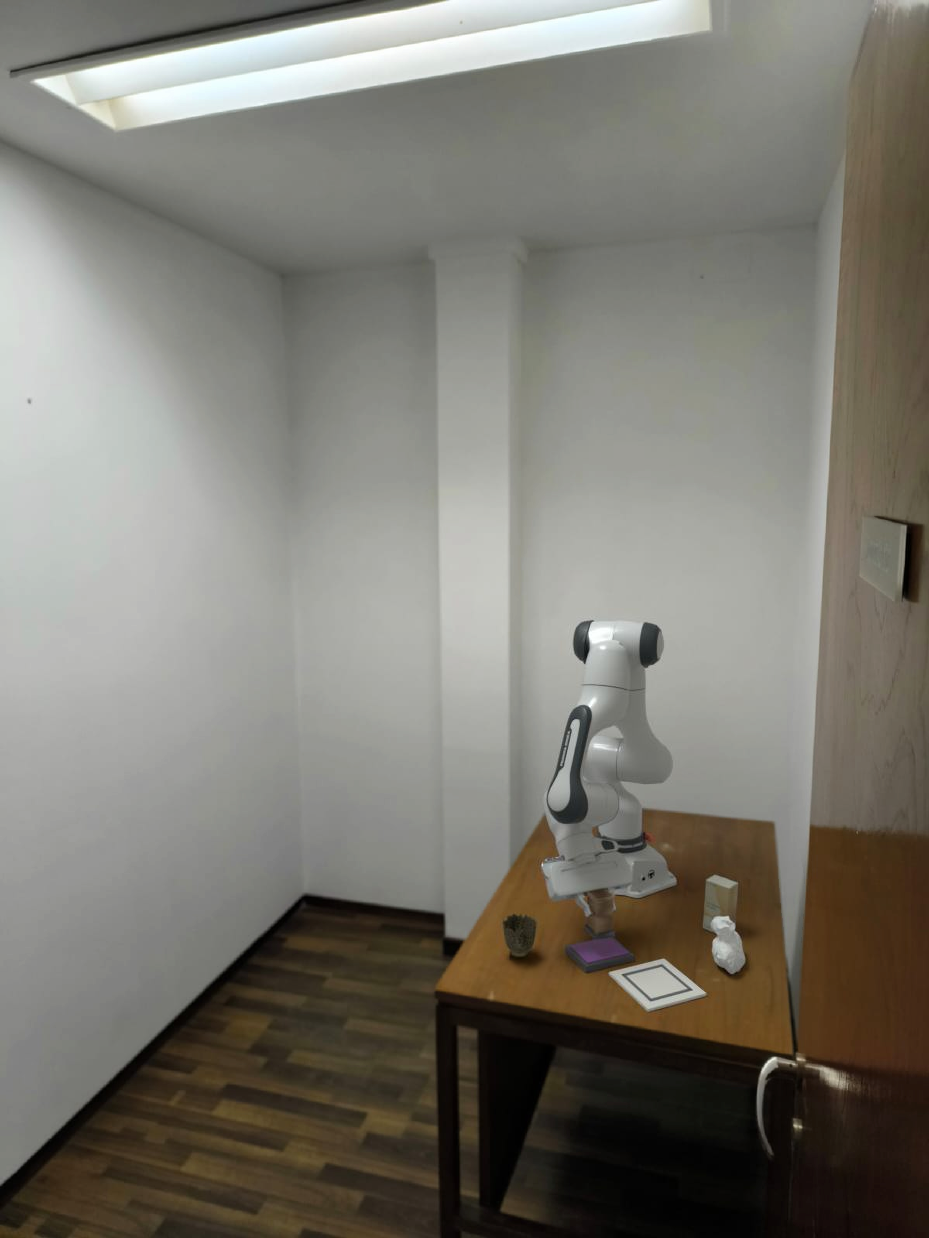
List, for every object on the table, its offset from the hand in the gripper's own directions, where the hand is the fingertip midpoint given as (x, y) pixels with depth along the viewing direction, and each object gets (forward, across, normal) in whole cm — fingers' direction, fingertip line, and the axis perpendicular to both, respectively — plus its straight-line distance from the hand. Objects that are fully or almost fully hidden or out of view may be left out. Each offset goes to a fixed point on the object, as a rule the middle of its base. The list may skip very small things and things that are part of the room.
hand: (601, 913), depth 176 cm
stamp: (+3, 0, +4) cm, 5 cm away
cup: (+2, -16, +13) cm, 21 cm away
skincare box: (+8, +32, +7) cm, 34 cm away
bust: (+16, +24, -1) cm, 29 cm away
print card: (+17, +5, -2) cm, 18 cm away
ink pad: (+7, 0, +8) cm, 11 cm away
